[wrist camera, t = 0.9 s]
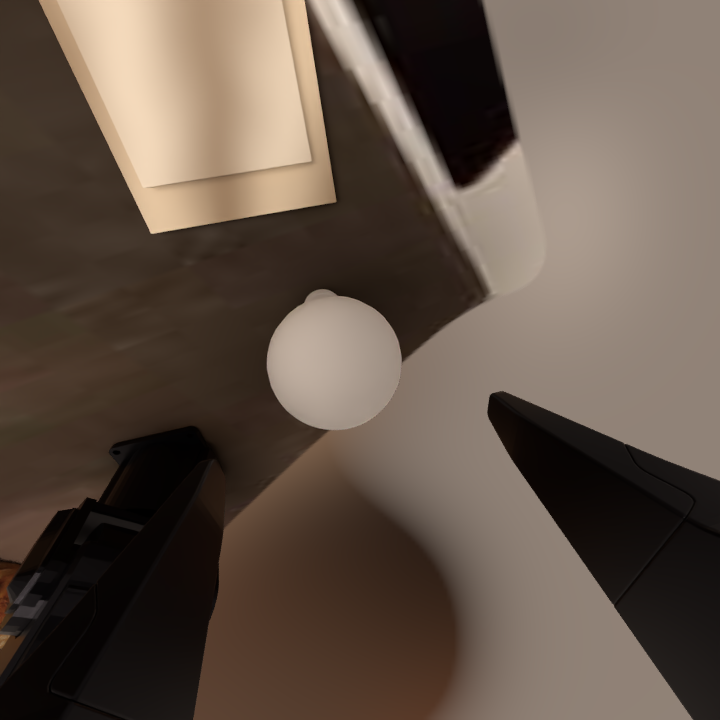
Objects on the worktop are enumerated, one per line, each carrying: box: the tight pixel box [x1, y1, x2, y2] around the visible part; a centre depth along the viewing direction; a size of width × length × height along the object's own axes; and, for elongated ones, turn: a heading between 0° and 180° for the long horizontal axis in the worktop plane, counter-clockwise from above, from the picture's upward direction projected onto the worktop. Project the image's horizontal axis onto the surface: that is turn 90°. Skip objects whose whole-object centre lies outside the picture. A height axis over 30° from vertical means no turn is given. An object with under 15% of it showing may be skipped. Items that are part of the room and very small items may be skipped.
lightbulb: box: [267, 289, 402, 430], centre depth 16 cm, size 6×6×11 cm
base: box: [39, 0, 336, 234], centre depth 13 cm, size 10×12×2 cm
